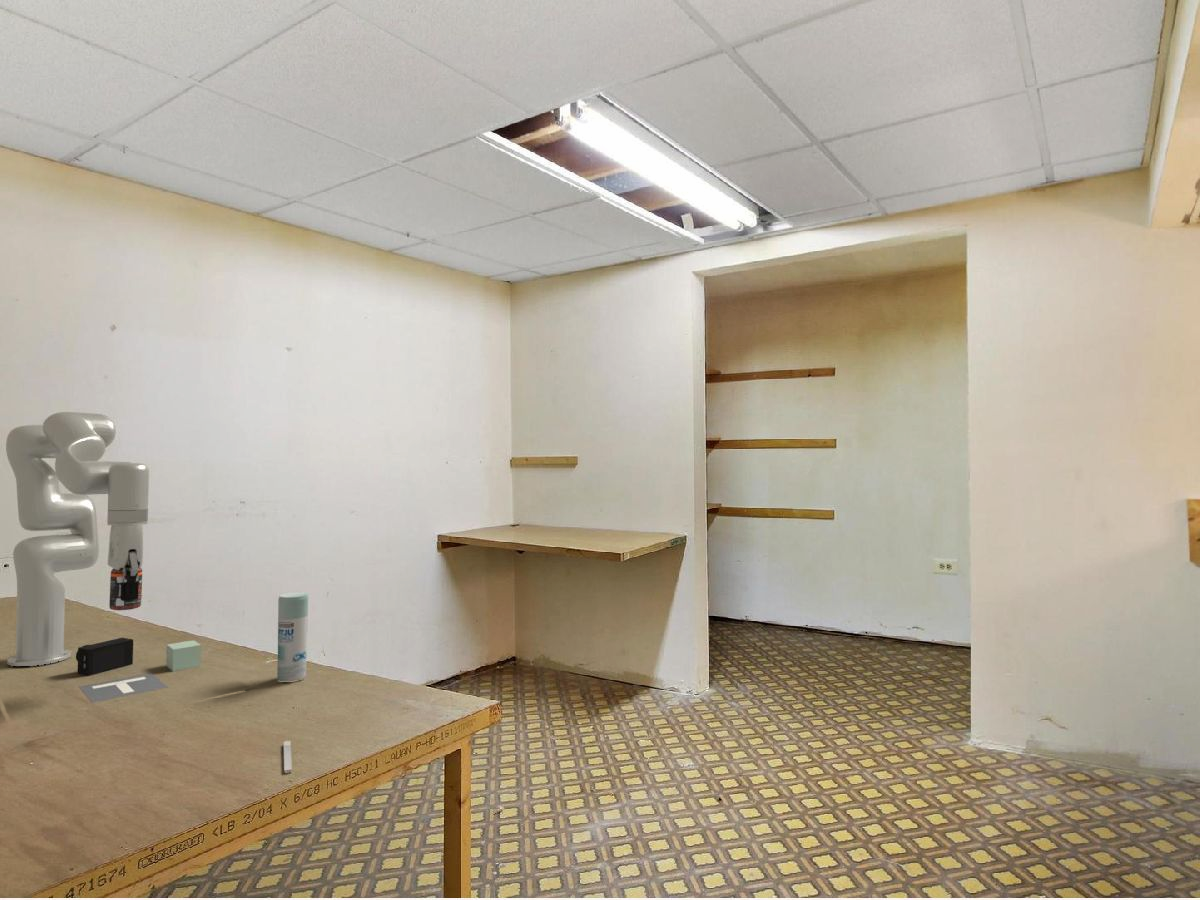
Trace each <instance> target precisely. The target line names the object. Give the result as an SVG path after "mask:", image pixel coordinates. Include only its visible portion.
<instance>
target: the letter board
mask: <svg viewBox="0 0 1200 900" xmlns="http://www.w3.org/2000/svg"><path fill="white" fill-rule="evenodd" d="M78 687H79V689H80V690H81V691H82V692H83V694H84V695H85V696H86V697H87V698H88V700H89V701H90V702H91V703H97V702H102V701H107V700H112V699H119V698H122V697H126V696H131V695H137V694H142V693H147V692H151V691H157V690H162V689H167V688H169V686H167V685H166V684H165V683H164V682H163V681H161V680H160V679H159V678H158V677H157V676H156V675H154V673H152V672H149V673H145V674H141V675H134V676H129V677H123V678H118V679H111V680H107V681H103V682H96V683H91V684H85V685H80V686H78Z"/></svg>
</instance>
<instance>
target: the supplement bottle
mask: <svg viewBox="0 0 1200 900" xmlns="http://www.w3.org/2000/svg"><path fill="white" fill-rule="evenodd" d="M137 563H138V560H137ZM125 568H130V566H125ZM127 573H128V572H126V576H127ZM109 578H110V580H109V602H108V603H109V605H108V606H109V609H111V610H113V611H130V610H135V609H138V608H140V607H142V597H143V594H142V591H143V568H142V566H141V567H140V568H138V578H139V580H138V581H139V587H138V599H135V600H126V601H122V600H121V583H122V582H123V577H122V568H120V570H116V569H114V568H112V569H111V570H110V577H109Z"/></svg>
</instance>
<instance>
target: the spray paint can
mask: <svg viewBox="0 0 1200 900" xmlns="http://www.w3.org/2000/svg"><path fill="white" fill-rule="evenodd" d="M277 601H278V604H277V605H278V608H277V609H278V610H277V612H278V613H277V614H278V615H277V616H278V617H277V668H276V669H277V670H276V671H277V672H276V673H277V681H278V680H279V681H294V680H300V679H302V678H304V677H305V676H306V677H307V656H308V655H307V654H308V653H307V651H308V649H307V648H308V620H309V616H308V615H309V595H308V593H306V592H302V591H300V592H297V591H296V592H294V591H293V592H286V593H282V594H280V595H279V596H278V599H277Z"/></svg>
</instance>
